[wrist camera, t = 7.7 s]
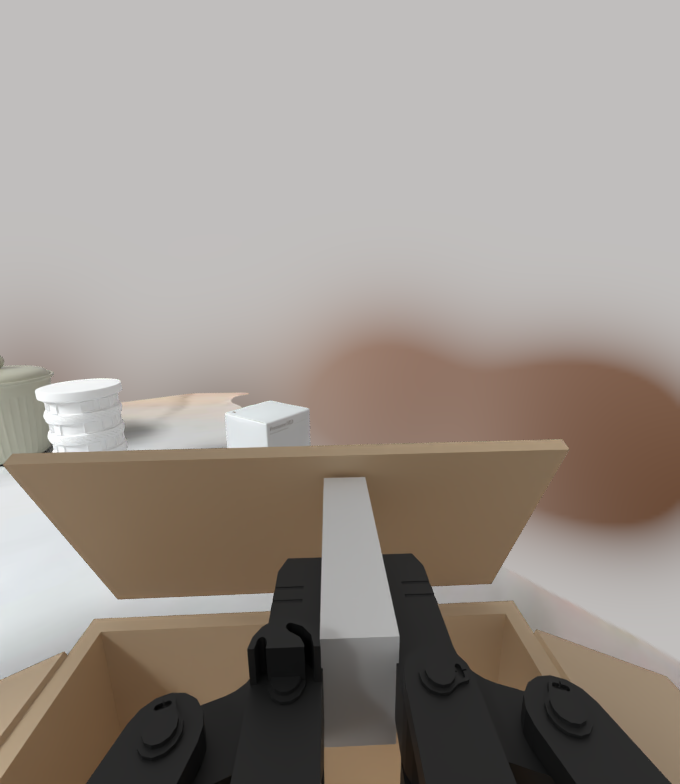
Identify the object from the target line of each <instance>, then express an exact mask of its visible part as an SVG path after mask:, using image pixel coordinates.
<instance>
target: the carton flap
mask: <svg viewBox="0 0 680 784" xmlns="http://www.w3.org/2000/svg"><path fill="white" fill-rule="evenodd" d="M568 451H569V449H568V447H567V445H566V444H565V443H564V441H563V440H562V439H560V440H558V439H557V440H519V441H483V442H482V441H481V442H444V443H403V444H366V445H328V446H287V447H249V448H210V449H172V450H133V451H95V452H56V453H18V454H12V455H11V456H10V457H9V458H8V459H7V460H6V461H5V463H4V464H3V466H4V467H5V468H6V469H7V471H8V472H9V473H10V474H11V475H12V476H13V478H14V479H15V480H16V481H17V482H18V483H19V485H20V486H21V487H22V488H23V489H24V490H25V492H26V493H27V494H28V495H29V496H30V497H31V499H32V500H33V501H34V502H35V503H36V504H37V506H38V507H39V508H40V509H41V510H42V511H43V513H44V514H45V515H46V516H47V517H48V518H49V520H50V521H51V522H52V523H53V524H54V525H55V527H56V528H57V529H58V530H59V531H60V532H61V534H62V535H63V536H64V537H65V538H66V539H67V541H68V542H69V543H70V544H71V545H72V546H73V548H74V549H75V550H76V551H77V552H78V554H79V555H80V556H81V557H82V558H83V559H84V561H85V562H86V563H87V564H88V565H89V566H90V568H91V569H92V570H93V571H94V572H95V573H96V575H97V576H98V577H99V578H100V579H101V580H102V582H103V583H104V584H105V585H106V586H107V587H108V589H109V590H110V591H111V592H112V593H113V594H114V596H115V597H116V598H117V599H139V598H163V597H187V596H211V595H235V594H259V593H274V590H275V585H276V580H277V574H278V571H279V570H280V568H281V567H282V566H283V564H284V563H285V562H286V560H287V559H288V558H318V557H322V530H323V489H324V478H345V477H365V479H366V483H367V488H368V493H369V497H370V502H371V506H372V511H373V516H374V520H375V525H376V530H377V534H378V539H379V543H380V548H381V553H382V554H405V553H412V554H413V555H414V556H415V557H416V558H417V559H418V560H419V561H420V562H421V563H422V564H423V566H424V568H425V571H426V573H427V576H428V579H429V583H430V584H431V586H451V585H475V584H491V583H492V582H493V580H494V578H495V577H496V575H497V573H498V571H499V570H500V568H501V566H502V564H503V563H504V561H505V559H506V558H507V556H508V554H509V552H510V551H511V549H512V547H513V545H514V544H515V542H516V540H517V539H518V537H519V535H520V534H521V532H522V530H523V528H524V527H525V525H526V523H527V521H528V520H529V518H530V516H531V515H532V513H533V511H534V509H535V508H536V506H537V504H538V503H539V501H540V499H541V497H542V495H543V494H544V492H545V490H546V489H547V487H548V485H549V483H550V482H551V480H552V478H553V477H554V475H555V473H556V471H557V470H558V468H559V466H560V465H561V463H562V461H563V459H564V458H565V456H566V454H567V453H568Z"/></svg>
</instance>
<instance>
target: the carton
mask: <svg viewBox="0 0 680 784" xmlns="http://www.w3.org/2000/svg"><path fill="white" fill-rule="evenodd" d="M438 606H439V609H440V611H441V614H442V617H443V620H444V622H445V625H446V628H447V630H448V633H449V636H450V639H451V641H452V644H453V647H454V649H455V651H456V653H457V654H458V655H459V656H460V657H461V658H462V659H463V660H464V661H465V662H466V663H467V664H468V666H469V667H470V669H471V670H472V671H473V672H475V673H476V674H478V675H480V676H481V677H483V678H484V679H487V680H490V681H492V682H495V683H498V684H501V685H505V686H508V687H512V688H515V689H519V690H522V691H525V689H526V686H527V683H528V682H529V681H531V680H532V679H534V678H535V677H537V676H546V675H551V676H555V677H559V678H563V679H566V680H568V681H570V682H571V683H573V684H575V685H577V686H579V687H580V688H582V689H583V690H584V691H586V692H587V693H588V694H589V695H590V696H591V697H592V698H593V699H595V700H596V701H597V702H598V703H599V704H600V705H601V707H602V708H603V709H604V710H605V711H606V712H607V713H608V714H609V715H610V716H611V718H612V719H613V720H614V721H615V722H616V723H617V724H618V725H619V726H620V727H621V728H622V730H623V731H624V732H625V733H626V734H627V735H628V736H629V737H630V738H631V739H632V741H633V742H634V743H635V744H636V745H637V746H638V747H639V748H640V749H641V750H642V752H643V753H644V754H645V755H646V756H647V757H648V758H649V759H650V760H651V761H652V763H653V764H654V765H655V766H656V767H657V768H658V769H659V770H660V771H661V772H662V774H663V775H664V776H665V777H666V778H667V779H668V780H669V781H670V782H671V783H672V784H680V690H679V689H678V688H677V687H676V686H675V685H674V684H673V683H672V682H671V681H670V680H669V679H668V677H666V676H663V675H661V674H658V673H655V672H652V671H650V670H647V669H644V668H641V667H639V666H636V665H633V664H630V663H628V662H625V661H622V660H619V659H617V658H614V657H611V656H608V655H606V654H603V653H600V652H597V651H595V650H592V649H589V648H587V647H584V646H581V645H578V644H576V643H573V642H570V641H567V640H565V639H562V638H559V637H556V636H554V635H551V634H548V633H545V632H543V631H540V630H537V629H536V631H535V632H534V633H533V631H532V630H531V628H530V627H529V625H528V624H527V622H526V620H525V619H524V617H523V616H522V614H521V613H520V611H519V609H518V608H517V606H516V605H515V603H514V602H513V601H494V602H471V603H448V604H438ZM270 612H271V611H265V612H242V613H219V614H196V615H173V616H150V617H128V618H105V619H94V620H93V621H92V623H91V624H90V625H89V627H88V628H87V629H86V631H85V632H84V633H83V635H82V636H81V638H80V639H79V640H78V642H77V643H76V644H75V646H74V647H73V649H72V650H71V651H70V653H69V654H68V655H67V654H66V653H65V652H62V653H60V654H57V655H55V656H53V657H51V658H48V659H46V660H44V661H42V662H40V663H37V664H35V665H33V666H31V667H29V668H26V669H24V670H22V671H20V672H17V673H15V674H13V675H11V676H9V677H6V678H4V679H2V680H0V784H86V783H87V781H88V780H89V778H90V777H91V776H92V774H93V773H94V771H95V770H96V768H97V767H98V765H99V764H100V763H101V761H102V760H103V758H104V757H105V755H106V754H107V752H108V751H109V750H110V748H111V747H112V745H113V744H114V742H115V741H116V739H117V738H118V737H119V735H120V734H121V732H122V731H123V729H124V728H125V726H126V725H127V724H128V723H129V721H130V720H131V719H132V718H133V717H134V716H135V715H136V714H137V712H138V711H139V710H140V709H141V708H143V707H144V706H146V705H147V704H149V703H150V702H151V701H153V700H154V699H156V698H158V697H161V696H164V695H167V694H169V693H187V694H189V695H191V696H193V697H195V698H197V700H198V702H199V704H200V705H203V704H206V703H208V702H211V701H214V700H216V699H219V698H221V697H224V696H226V695H228V694H230V693H232V692H234V691H236V690H237V689H239V688H240V687H241V686H243V685H244V684H245V683H246V682H247V681H248V680H249V679H250V678H249V666H248V655H247V648H248V646H249V644H250V641H251V639H252V637H253V636H254V635H255V634H256V633H257V632H258V630H259V629H260V628H261V627H262V626H264V625H266V624H268V622H269V617H270ZM400 771H401V755H400V749H399V742H398V736H397V732H396V744H389V745H367V746H346V747H324V781H325V784H400Z"/></svg>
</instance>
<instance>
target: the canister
mask: <svg viewBox="0 0 680 784" xmlns="http://www.w3.org/2000/svg"><path fill="white" fill-rule="evenodd" d="M3 364H4V359H3V357H1V356H0V465H2V464H4V463H5V461H6V460H7V459H8V458H9V457H10V456H11V455H12V454H18V453H43V452H44V451H46V450H47V449H48V448H49V447H50V446H51V444H52V443H51V442H50V441H49V439H48V432H49V430H50V429H49V424H48V423H47V422H45V419H44V417H43V415H44V411H45V405H44V402H41V401H38V400H37V399H36V394H35V390H36V389H38V388H40V387H43V386H46V385H50V384H51V377H52V376H53V374H54V372H52V371H49V370H46V369H45V368H43V367H38V366H3Z"/></svg>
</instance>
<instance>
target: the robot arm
mask: <svg viewBox="0 0 680 784" xmlns="http://www.w3.org/2000/svg"><path fill="white" fill-rule="evenodd" d="M247 655H248V666H249V678H250V679H249V680H248V681H247V682H246V683H245V684H244V685H243V686H241V687H240V688H239V689H237V690H236V691H234V692H232V693H230V694H228V695H226V696H224V697H221V698H219V699H216V700H214V701H211V702H208V703H206V704H203V705H200V704H199V702H198V700H197V698H195V697H193V696H191V695H189V694H187V693H169V694H167V695H164V696H161V697H158V698H156V699H154V700H153V701H151V702H150V703H149V704H147V705H146V706H144V707H143V708H141V709H140V710H139V711H138V712H137V714H136V715H135V716H134V717H133V718H132V719H131V720H130V721H129V723H128V724H127V725H126V726H125V728H124V729H123V731H122V732H121V734H120V735H119V737H118V738H117V739H116V741H115V742H114V744H113V745H112V747H111V748H110V750H109V751H108V752H107V754H106V755H105V757H104V758H103V760H102V761H101V763H100V764H99V765H98V767H97V768H96V770H95V771H94V773H93V774H92V776H91V777H90V778H89V780H88V781H87V783H86V784H325V781H324V747H346V746H367V745H389V744H396V732H397V736H398V742H399V749H400V755H401V771H400V784H672V783H671V782H670V781H669V780H668V779H667V778H666V777H665V776H664V775H663V774H662V772H661V771H660V770H659V769H658V768H657V767H656V766H655V765H654V764H653V763H652V761H651V760H650V759H649V758H648V757H647V756H646V755H645V754H644V753H643V752H642V750H641V749H640V748H639V747H638V746H637V745H636V744H635V743H634V742H633V741H632V739H631V738H630V737H629V736H628V735H627V734H626V733H625V732H624V731H623V730H622V728H621V727H620V726H619V725H618V724H617V723H616V722H615V721H614V720H613V719H612V718H611V716H610V715H609V714H608V713H607V712H606V711H605V710H604V709H603V708H602V707H601V705H600V704H599V703H598V702H597V701H596V700H595V699H593V698H592V697H591V696H590V695H589V694H588V693H587V692H586V691H584V690H583V689H582V688H580V687H579V686H577V685H575V684H573V683H571V682H570V681H568V680H566V679H563V678H559V677H555V676H551V675H546V676H537V677H535V678H534V679H532V680H531V681H529V682H528V683H527V686H526V689H525V691H522V690H519V689H515V688H512V687H508V686H505V685H501V684H498V683H495V682H492V681H490V680H487V679H484V678H483V677H481V676H480V675H478V674H476V673H475V672H473V671H472V670H471V669H470V667H469V666H468V664H467V663H466V662H465V661H464V660H463V659H462V658H461V657H460V656H459V655H458V654H457V653H456V651H455V649H454V647H453V644H452V641H451V639H450V636H449V633H448V630H447V628H446V625H445V622H444V620H443V617H442V614H441V611H440V609H439V606H438V603H437V601H436V598H435V597H434V592H433V590H432V587H431V584H430V583H429V579H428V576H427V573H426V571H425V568H424V566H423V564H422V563H421V562H420V561H419V560H418V559H417V558H416V557H415V556H414V555H413V554H412V553H405V554H382V553H381V548H380V543H379V539H378V534H377V530H376V525H375V520H374V516H373V511H372V506H371V502H370V497H369V493H368V488H367V483H366V479H365V477H345V478H324V489H323V530H322V557H318V558H288V559H287V560H286V562H285V563H284V564H283V566H282V567H281V568H280V570H279V571H278V574H277V580H276V585H275V590H274V596H273V603H272V606H271V612H270V617H269V622H268V624H266V625H264V626H262V627H261V628H260V629H259V630H258V632H257V633H256V634H255V635H254V636H253V637H252V639H251V641H250V644H249V646H248V648H247Z"/></svg>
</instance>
